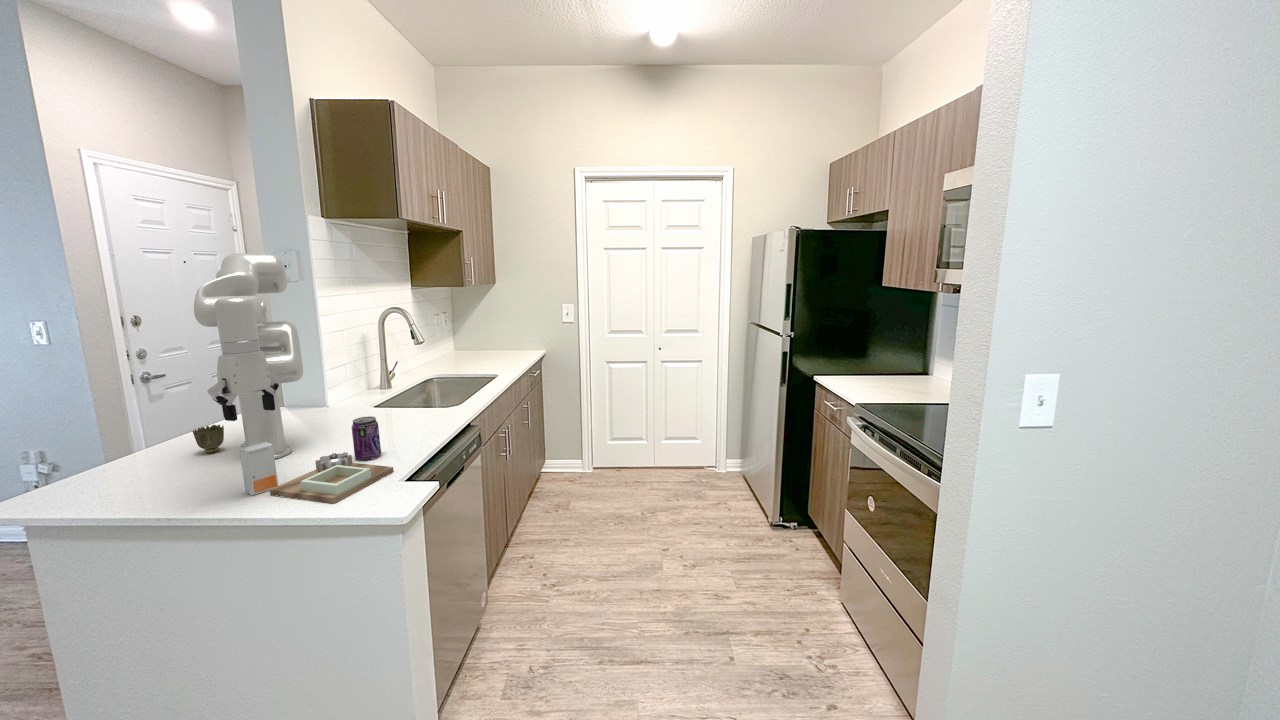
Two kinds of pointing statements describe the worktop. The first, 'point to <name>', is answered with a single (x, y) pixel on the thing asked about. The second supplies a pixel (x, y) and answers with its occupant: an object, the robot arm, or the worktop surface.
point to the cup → (209, 438)
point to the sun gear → (333, 461)
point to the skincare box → (258, 468)
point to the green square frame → (320, 486)
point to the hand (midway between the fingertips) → (251, 415)
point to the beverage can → (366, 438)
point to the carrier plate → (294, 485)
